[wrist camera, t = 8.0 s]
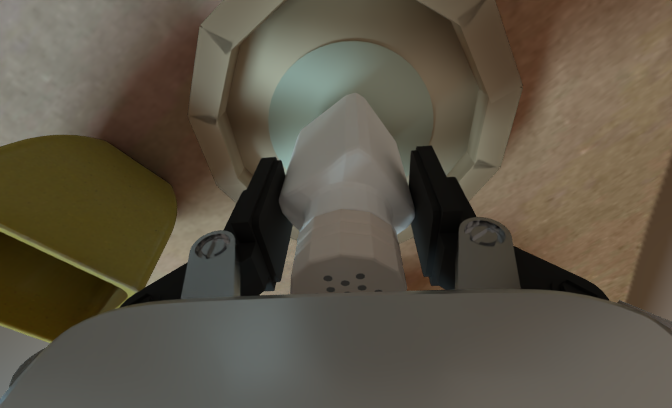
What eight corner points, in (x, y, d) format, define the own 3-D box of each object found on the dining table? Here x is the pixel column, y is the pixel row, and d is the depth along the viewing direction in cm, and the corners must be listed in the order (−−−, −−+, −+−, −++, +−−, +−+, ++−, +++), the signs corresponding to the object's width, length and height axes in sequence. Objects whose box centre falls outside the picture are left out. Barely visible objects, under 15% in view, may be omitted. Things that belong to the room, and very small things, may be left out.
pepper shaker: (293, 131, 15) (242, 284, 8) (356, 83, 14) (366, 215, 6) (340, 182, 17) (335, 344, 10) (400, 145, 16) (448, 304, 8)
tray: (158, -33, 13) (124, -34, 11) (535, -84, 12) (574, -96, 10) (254, 228, 23) (245, 253, 21) (466, 218, 22) (478, 243, 19)
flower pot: (81, 91, 17) (-113, 177, 10) (213, 185, 21) (142, 296, 14) (38, 177, 21) (-124, 283, 14) (155, 243, 24) (77, 353, 17)
